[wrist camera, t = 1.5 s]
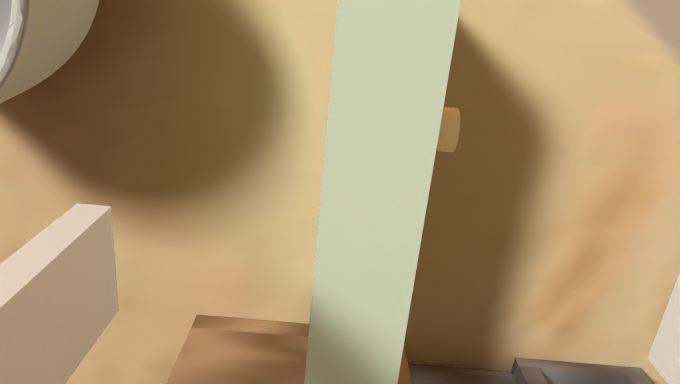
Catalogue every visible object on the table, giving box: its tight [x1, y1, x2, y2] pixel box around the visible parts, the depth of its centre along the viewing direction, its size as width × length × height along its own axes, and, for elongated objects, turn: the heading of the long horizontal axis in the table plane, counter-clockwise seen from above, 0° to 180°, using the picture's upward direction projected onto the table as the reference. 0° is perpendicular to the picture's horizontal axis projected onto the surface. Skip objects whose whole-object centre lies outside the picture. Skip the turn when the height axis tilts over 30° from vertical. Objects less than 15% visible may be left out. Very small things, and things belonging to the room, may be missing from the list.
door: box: [304, 0, 461, 384], centre depth 19 cm, size 4×14×8 cm, turn 175°
